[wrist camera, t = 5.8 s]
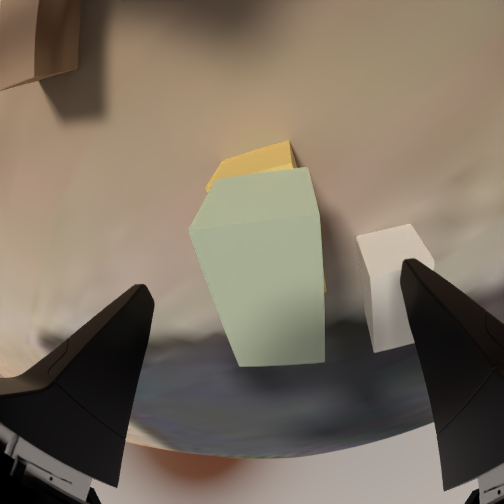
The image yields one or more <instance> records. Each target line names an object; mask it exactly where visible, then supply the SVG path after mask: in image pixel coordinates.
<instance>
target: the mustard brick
mask: <svg viewBox="0 0 504 504" xmlns="http://www.w3.org/2000/svg"><path fill="white" fill-rule="evenodd" d="M292 168H298V167H297V164H296V161H295V158H294V154H293V151H292V148H291V145H290V142H289V141H285V142H281V143H278V144H274V145H271V146H267V147H264V148H261V149H257V150H254V151H251V152H247V153H244V154H241V155H238V156H235V157H232V158H229V159H226V160H223V161H222V162H221V164H220V165H219V167H218V168H217V170H216V171H215V173H214V175H213V176H212V178H211V179H210V181H209V183H208V184H207V186H206V188H205V190H206V192H207V194H208V193H209V191H210V189H211V187H212V185H213V184H214V182H215V180H216V179H221V178H227V177H234V176H240V175H247V174H254V173H261V172H268V171H276V170H284V169H292ZM323 279H324V292H327V289H326V282H325V276H324V269H323Z"/></svg>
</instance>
